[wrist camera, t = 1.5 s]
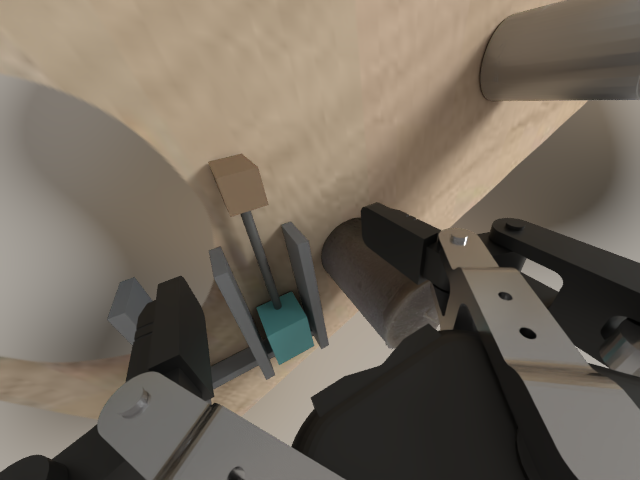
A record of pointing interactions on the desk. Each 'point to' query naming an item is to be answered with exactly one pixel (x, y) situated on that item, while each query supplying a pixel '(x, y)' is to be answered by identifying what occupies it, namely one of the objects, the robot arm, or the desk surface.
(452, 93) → the desk surface
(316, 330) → the lane rack
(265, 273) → the block ended dumbbell
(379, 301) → the pillar candle
